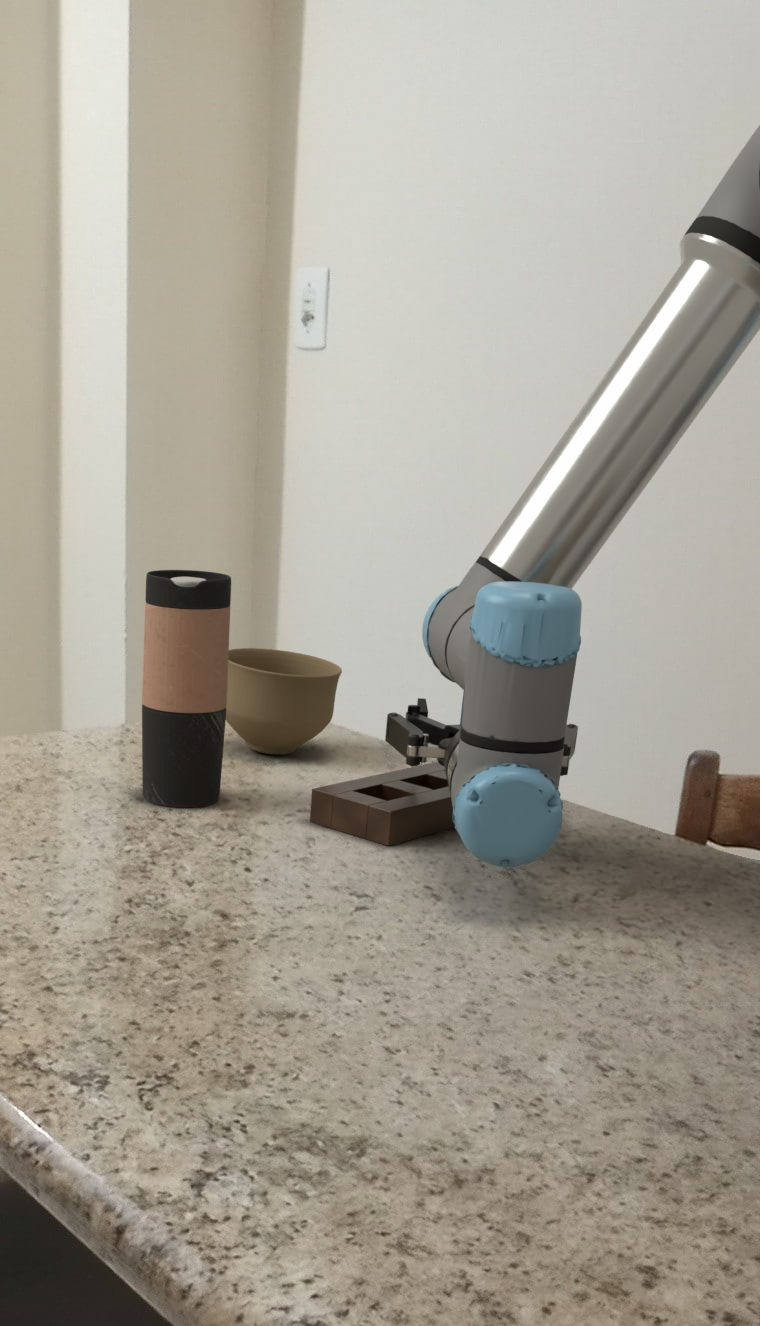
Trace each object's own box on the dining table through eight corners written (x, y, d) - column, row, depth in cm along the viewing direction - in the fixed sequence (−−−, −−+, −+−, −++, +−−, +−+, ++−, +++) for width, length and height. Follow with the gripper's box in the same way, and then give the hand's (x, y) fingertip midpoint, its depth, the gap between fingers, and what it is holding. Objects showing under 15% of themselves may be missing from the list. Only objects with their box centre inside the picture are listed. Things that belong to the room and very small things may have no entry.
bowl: (314, 771, 139) (322, 672, 135) (198, 755, 143) (202, 659, 139) (349, 747, 150) (356, 654, 146) (240, 733, 154) (244, 642, 150)
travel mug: (184, 782, 132) (192, 568, 125) (239, 800, 127) (250, 577, 120) (122, 794, 127) (127, 571, 120) (176, 813, 122) (184, 582, 115)
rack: (536, 805, 130) (540, 775, 129) (388, 846, 116) (391, 811, 115) (459, 785, 136) (462, 756, 135) (309, 821, 122) (311, 788, 121)
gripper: (351, 806, 113) (354, 746, 134) (627, 826, 111) (587, 762, 132) (358, 716, 110) (361, 669, 131) (641, 735, 109) (599, 684, 129)
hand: (474, 716), depth 132 cm, fingers open, 10 cm apart
